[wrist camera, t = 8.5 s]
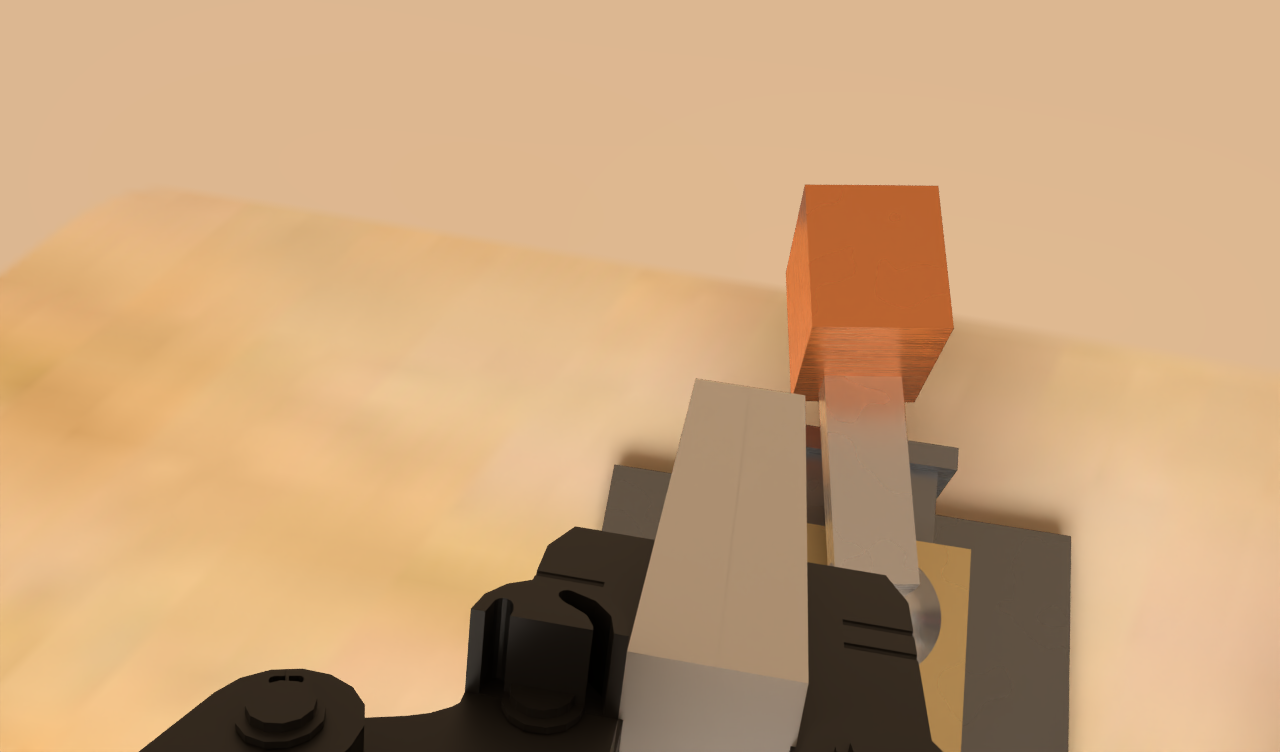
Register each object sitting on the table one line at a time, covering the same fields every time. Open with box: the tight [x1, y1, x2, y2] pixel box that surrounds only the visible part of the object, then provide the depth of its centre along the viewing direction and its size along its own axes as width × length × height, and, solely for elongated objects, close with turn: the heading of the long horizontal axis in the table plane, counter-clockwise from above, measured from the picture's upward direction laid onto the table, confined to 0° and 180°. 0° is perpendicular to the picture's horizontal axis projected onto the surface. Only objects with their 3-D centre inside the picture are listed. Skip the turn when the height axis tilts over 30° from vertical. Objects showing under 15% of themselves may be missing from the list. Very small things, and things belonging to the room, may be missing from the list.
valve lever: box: [786, 185, 954, 664], centre depth 25 cm, size 10×3×4 cm, turn 179°
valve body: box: [602, 425, 1071, 752], centre depth 30 cm, size 14×11×8 cm
